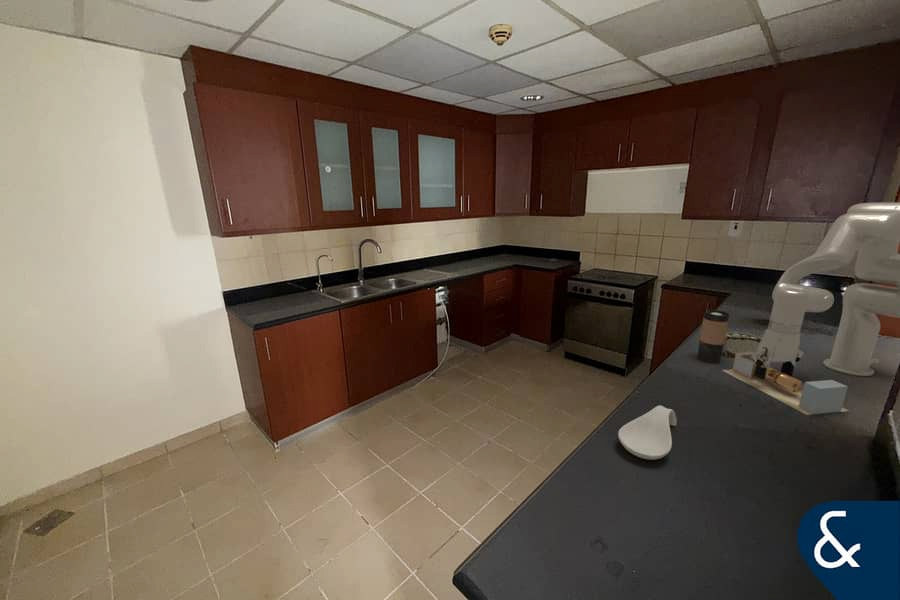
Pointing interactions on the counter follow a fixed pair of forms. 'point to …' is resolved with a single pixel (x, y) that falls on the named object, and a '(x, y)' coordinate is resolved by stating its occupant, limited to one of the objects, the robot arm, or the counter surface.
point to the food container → (740, 343)
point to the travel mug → (712, 336)
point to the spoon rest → (649, 434)
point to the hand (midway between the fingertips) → (772, 376)
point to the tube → (782, 379)
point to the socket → (823, 396)
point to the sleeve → (745, 365)
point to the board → (775, 391)
